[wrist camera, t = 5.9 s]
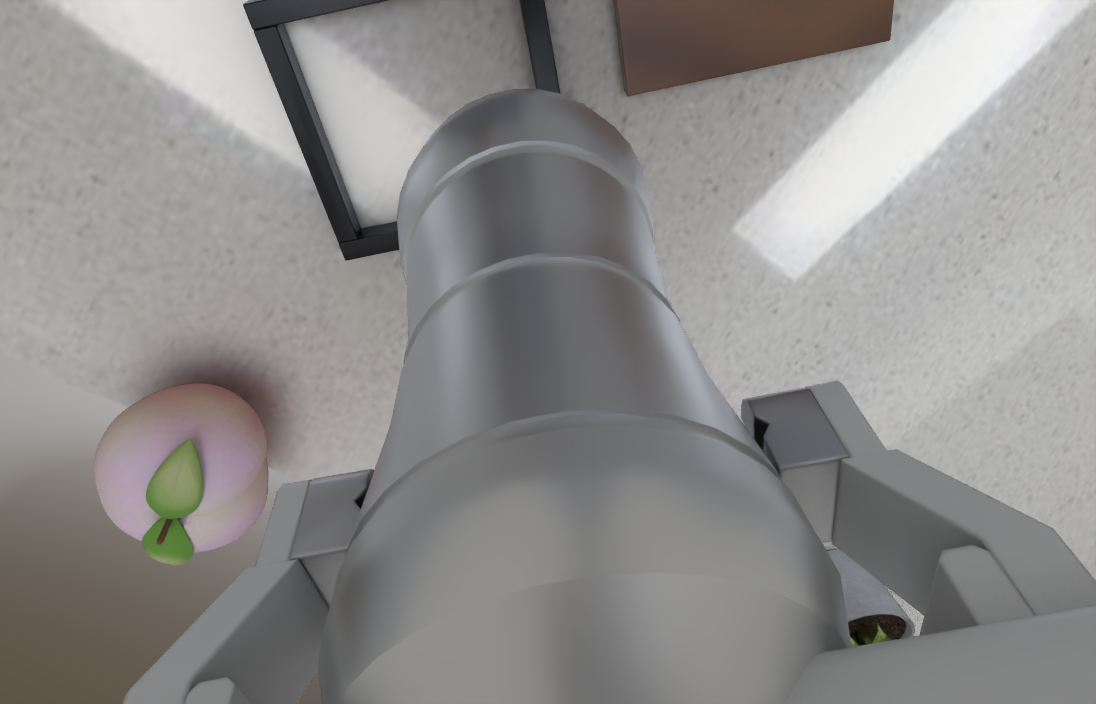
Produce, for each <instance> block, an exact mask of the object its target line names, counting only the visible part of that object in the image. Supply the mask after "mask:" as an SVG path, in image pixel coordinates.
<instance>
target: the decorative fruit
mask: <svg viewBox="0 0 1096 704" xmlns="http://www.w3.org/2000/svg"><path fill="white" fill-rule="evenodd" d="M266 452H267V437H266V433H265V429H264V427H263V424H262V422H261V420H260V418H259V417H258V415H257V414H256V412H255V411H254V410H253V408H252V407H251V406H250V405H249V404H248V403H247V402H246V401H245V400H244V399H242V398H241V397H240V396H238V395H237V394H235V393H233V392H232V391H230V390H227V389H225V388H223V387H220V386H216V385H212V384H204V383H191V384H183V385H178V386H174V387H170V388H167V389H163V390H160V391H158V392H155V393H153V394H151V395H149V396H147V397H145V398H143V399H141V400H140V401H138V402H136V403H135V404H133V405H132V406H130V407H129V408H127V409H126V410H125V411H123V412H122V413H121V414H120V415H118V416H117V418H116V419H115V420H114V421H113V422H112V423H111V424H110V425H109V427H108V428H107V430H106V432H105V433H104V435H103V437H102V438H101V441H100V443H99V445H98V448H97V451H96V456H95V461H94V473H95V479H96V486H97V491H98V494H99V497H100V500H101V503H102V506H103V508H104V510H105V511H106V513H107V515H108V516H109V517H110V519H111V520H112V521H113V522H114V523H115V524H116V525H117V526H118V527H119V528H120V529H121V530H123V531H124V532H125V533H127V534H129V535H130V536H132V537H134V538H136V539H138V540H140V541H142V545H143V547H144V549H145V550H146V552H147V553H148V554H149V555H150V556H151V557H152V558H153V559H155V560H157V561H160V562H162V563H169V564H171V565H179V564H182V563H184V562H186V561H187V560H189V559H190V558H191V557H192V555H193V552H201V551H206V550H210V549H214V548H218V547H221V546H224V545H226V544H229V543H231V542H233V541H234V540H236V539H237V538H239V537H240V536H242V535H243V534H244V533H245V532H246V531H247V530H249V529H250V528H251V527H252V526H253V525H254V524H255V523H256V521H257V519H258V518H259V516H260V515H261V513H262V511H263V509H264V506H265V503H266V499H267V494H268V465H267V458H266Z"/></svg>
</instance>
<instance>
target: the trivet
mask: <svg viewBox="0 0 1096 704" xmlns="http://www.w3.org/2000/svg"><path fill="white" fill-rule="evenodd" d="M893 4H894V0H614V6H615V15H616V23H617V32H618V40H619V49H620V57H621V65H622V74H623V82H624V91H625V92H626V94H627V96H631V95H636V94H641V93H645V92H650V91H655V90H659V89H664V88H669V87H673V86H678V85H683V84H688V83H692V82H697V81H702V80H706V79H711V78H716V77H721V76H725V75H730V74H735V73H739V72H744V71H749V70H754V69H758V68H763V67H768V66H772V65H777V64H782V63H787V62H791V61H796V60H801V59H805V58H810V57H815V56H819V55H824V54H829V53H834V52H838V51H843V50H848V49H852V48H857V47H862V46H867V45H871V44H876V43H881V42H885V41H889V40H890V36H891V25H892V15H893Z"/></svg>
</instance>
